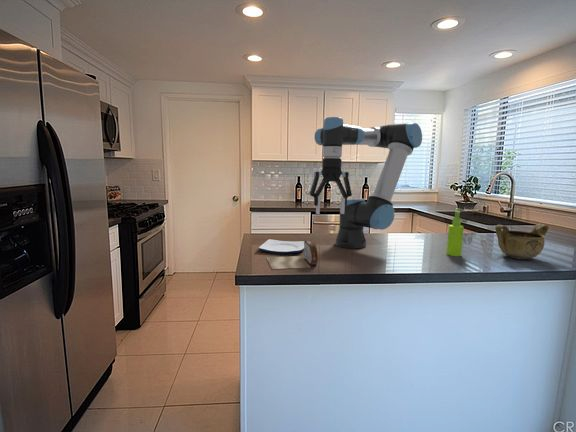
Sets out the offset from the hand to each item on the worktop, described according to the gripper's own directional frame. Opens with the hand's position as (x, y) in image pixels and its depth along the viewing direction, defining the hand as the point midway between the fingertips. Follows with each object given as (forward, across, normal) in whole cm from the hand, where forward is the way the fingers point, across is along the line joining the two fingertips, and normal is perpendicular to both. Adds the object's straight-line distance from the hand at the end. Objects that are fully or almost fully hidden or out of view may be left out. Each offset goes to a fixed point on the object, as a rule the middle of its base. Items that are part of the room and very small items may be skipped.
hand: (330, 213), depth 136 cm
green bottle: (+20, +60, +1) cm, 63 cm away
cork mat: (+20, -17, 0) cm, 26 cm away
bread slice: (+20, -8, 0) cm, 22 cm away
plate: (+20, -15, +22) cm, 33 cm away
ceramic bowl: (+20, +85, -9) cm, 88 cm away
